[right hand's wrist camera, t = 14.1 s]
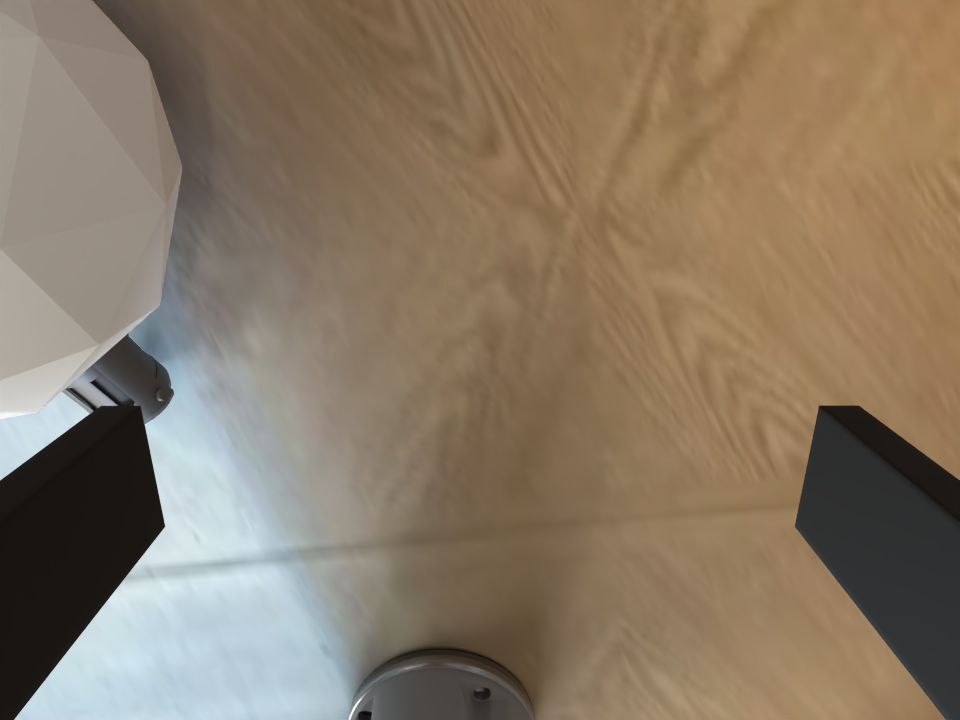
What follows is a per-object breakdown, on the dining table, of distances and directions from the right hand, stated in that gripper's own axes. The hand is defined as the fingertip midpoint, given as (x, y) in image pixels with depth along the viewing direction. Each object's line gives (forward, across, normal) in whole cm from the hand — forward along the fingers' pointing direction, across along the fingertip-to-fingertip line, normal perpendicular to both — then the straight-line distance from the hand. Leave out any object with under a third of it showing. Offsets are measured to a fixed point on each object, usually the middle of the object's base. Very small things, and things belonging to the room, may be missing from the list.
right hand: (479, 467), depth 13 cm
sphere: (+29, +25, -2) cm, 38 cm away
